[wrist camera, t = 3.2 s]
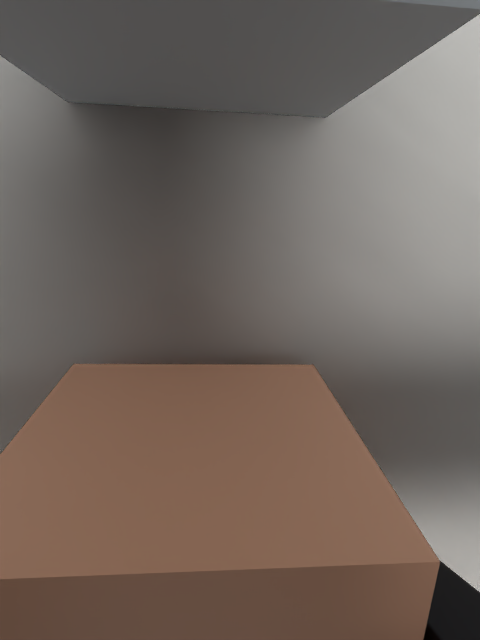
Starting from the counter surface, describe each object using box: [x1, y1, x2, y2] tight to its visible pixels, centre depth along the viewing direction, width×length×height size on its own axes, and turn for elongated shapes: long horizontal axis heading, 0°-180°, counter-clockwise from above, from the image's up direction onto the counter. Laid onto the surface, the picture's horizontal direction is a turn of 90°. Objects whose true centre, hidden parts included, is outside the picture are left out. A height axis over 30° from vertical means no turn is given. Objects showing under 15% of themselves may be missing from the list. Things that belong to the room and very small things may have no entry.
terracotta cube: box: [0, 364, 440, 640], centre depth 7 cm, size 5×5×5 cm
